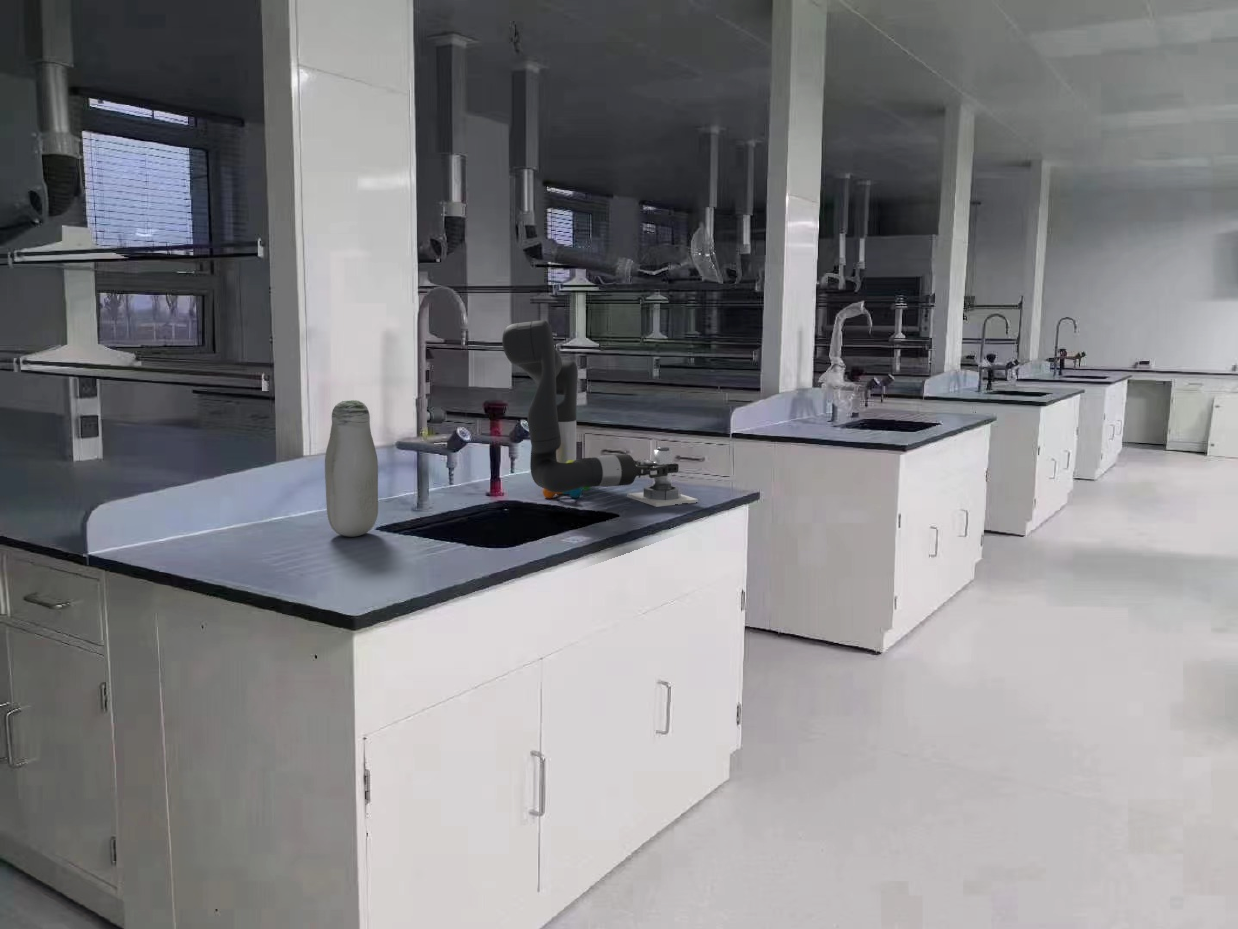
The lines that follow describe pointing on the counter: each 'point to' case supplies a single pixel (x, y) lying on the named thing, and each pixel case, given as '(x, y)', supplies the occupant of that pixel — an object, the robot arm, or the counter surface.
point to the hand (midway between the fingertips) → (671, 466)
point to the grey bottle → (351, 471)
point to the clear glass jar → (662, 457)
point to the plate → (662, 502)
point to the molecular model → (573, 493)
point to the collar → (662, 493)
